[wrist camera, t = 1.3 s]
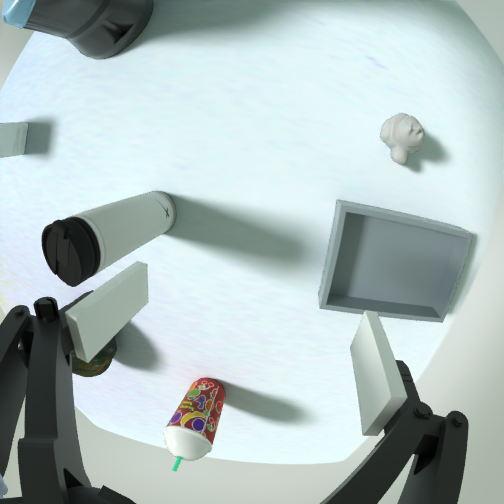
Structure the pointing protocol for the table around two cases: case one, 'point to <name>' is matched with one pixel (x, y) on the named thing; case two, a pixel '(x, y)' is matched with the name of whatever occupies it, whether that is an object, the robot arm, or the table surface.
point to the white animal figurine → (402, 136)
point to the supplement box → (13, 139)
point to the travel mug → (105, 235)
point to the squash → (94, 360)
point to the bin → (392, 263)
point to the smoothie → (195, 421)
